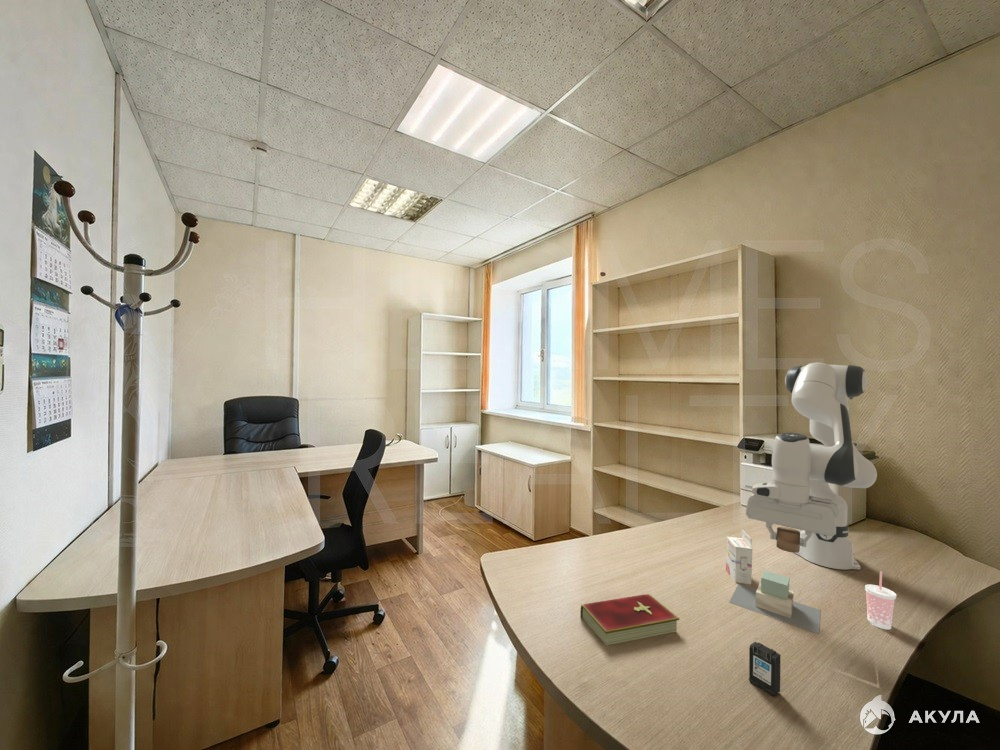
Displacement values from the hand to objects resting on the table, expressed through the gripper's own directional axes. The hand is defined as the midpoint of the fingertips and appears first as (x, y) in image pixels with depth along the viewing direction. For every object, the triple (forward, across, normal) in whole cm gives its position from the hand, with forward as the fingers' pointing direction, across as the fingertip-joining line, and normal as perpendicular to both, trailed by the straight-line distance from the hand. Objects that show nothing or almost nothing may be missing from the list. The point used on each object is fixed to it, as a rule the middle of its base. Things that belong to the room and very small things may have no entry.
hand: (787, 542), depth 111 cm
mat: (+19, +2, 0) cm, 19 cm away
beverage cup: (+19, -20, -11) cm, 30 cm away
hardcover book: (+20, +30, +36) cm, 51 cm away
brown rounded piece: (+2, 0, 0) cm, 2 cm away
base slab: (+19, +2, 0) cm, 19 cm away
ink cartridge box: (+19, +13, -12) cm, 27 cm away
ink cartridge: (+20, +1, +37) cm, 42 cm away
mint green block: (+15, +2, 0) cm, 15 cm away
